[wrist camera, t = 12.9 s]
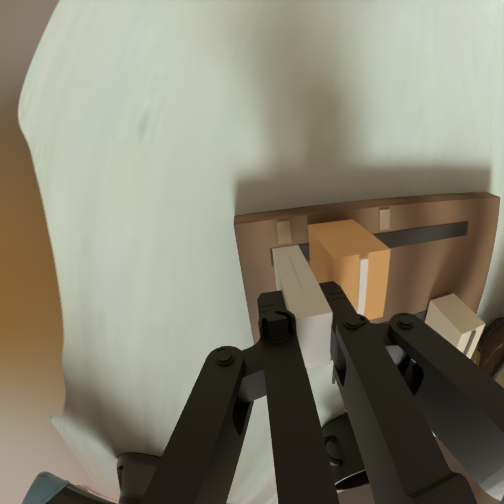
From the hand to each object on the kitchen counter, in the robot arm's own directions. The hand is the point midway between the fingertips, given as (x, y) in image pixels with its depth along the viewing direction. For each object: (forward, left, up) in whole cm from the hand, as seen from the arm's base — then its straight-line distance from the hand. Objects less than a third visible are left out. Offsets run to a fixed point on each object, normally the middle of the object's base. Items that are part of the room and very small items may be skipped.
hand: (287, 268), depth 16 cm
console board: (+9, -4, -4) cm, 11 cm away
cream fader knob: (+14, -8, -2) cm, 16 cm away
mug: (+7, -28, -4) cm, 29 cm away
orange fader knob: (+3, 0, -2) cm, 4 cm away
